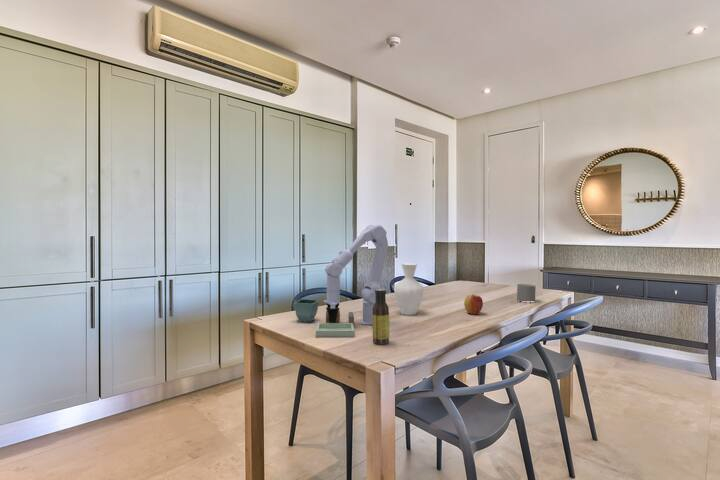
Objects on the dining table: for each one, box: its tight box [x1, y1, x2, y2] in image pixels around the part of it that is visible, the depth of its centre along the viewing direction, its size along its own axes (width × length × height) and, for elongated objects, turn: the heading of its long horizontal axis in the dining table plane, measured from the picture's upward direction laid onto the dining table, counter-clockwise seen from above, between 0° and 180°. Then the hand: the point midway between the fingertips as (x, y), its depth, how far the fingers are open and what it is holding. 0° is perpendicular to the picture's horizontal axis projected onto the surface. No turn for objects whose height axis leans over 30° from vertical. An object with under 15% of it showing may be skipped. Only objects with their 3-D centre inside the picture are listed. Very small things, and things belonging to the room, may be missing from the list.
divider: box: [347, 311, 355, 327], centre depth 162 cm, size 2×8×5 cm, turn 4°
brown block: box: [325, 310, 341, 323], centre depth 161 cm, size 6×6×6 cm
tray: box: [315, 322, 355, 338], centre depth 151 cm, size 15×12×2 cm
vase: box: [394, 262, 424, 316], centre depth 187 cm, size 14×14×25 cm
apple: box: [463, 294, 484, 315], centre depth 188 cm, size 9×9×10 cm
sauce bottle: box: [372, 288, 390, 345], centre depth 139 cm, size 6×6×20 cm
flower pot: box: [294, 298, 320, 323], centre depth 170 cm, size 9×9×9 cm
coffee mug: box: [516, 283, 536, 302], centre depth 223 cm, size 13×10×10 cm
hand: (332, 321), depth 162 cm, fingers open, 7 cm apart
